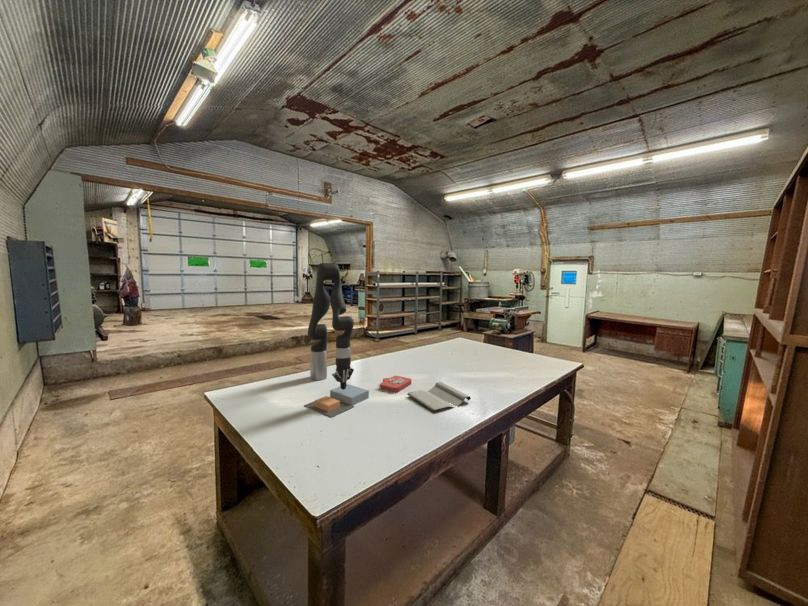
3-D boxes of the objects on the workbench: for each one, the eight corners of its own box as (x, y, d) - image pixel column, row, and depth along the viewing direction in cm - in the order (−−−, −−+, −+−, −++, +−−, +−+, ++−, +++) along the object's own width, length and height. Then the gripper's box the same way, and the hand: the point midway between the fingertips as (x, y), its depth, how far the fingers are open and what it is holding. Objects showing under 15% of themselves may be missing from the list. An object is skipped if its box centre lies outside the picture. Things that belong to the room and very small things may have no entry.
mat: (406, 397, 166) (406, 389, 165) (441, 389, 179) (441, 381, 178) (434, 414, 147) (434, 405, 146) (470, 403, 159) (471, 394, 159)
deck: (330, 397, 164) (330, 390, 163) (347, 390, 173) (347, 383, 173) (351, 405, 154) (351, 397, 154) (368, 397, 164) (368, 390, 163)
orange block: (326, 395, 157) (326, 401, 158) (314, 400, 152) (314, 406, 152) (339, 400, 151) (339, 406, 152) (328, 405, 146) (328, 412, 146)
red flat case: (391, 373, 193) (412, 377, 186) (391, 379, 193) (412, 384, 186) (374, 382, 178) (397, 387, 170) (374, 388, 178) (396, 394, 171)
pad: (304, 405, 153) (304, 405, 153) (326, 396, 164) (326, 396, 164) (331, 417, 141) (331, 416, 141) (354, 407, 153) (354, 406, 152)
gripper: (347, 351, 166) (348, 383, 168) (327, 357, 155) (328, 391, 157) (357, 354, 161) (357, 387, 163) (337, 359, 151) (338, 394, 153)
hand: (343, 388), depth 160 cm, fingers closed
